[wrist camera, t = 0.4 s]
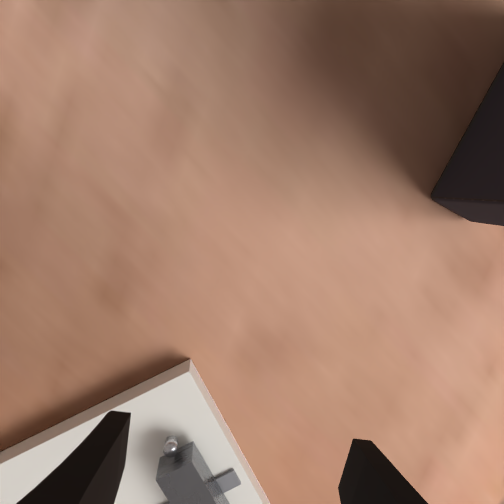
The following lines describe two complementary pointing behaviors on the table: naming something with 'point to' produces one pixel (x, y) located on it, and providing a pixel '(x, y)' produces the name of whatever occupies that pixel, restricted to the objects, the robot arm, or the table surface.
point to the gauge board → (141, 441)
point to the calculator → (478, 164)
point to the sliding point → (187, 476)
